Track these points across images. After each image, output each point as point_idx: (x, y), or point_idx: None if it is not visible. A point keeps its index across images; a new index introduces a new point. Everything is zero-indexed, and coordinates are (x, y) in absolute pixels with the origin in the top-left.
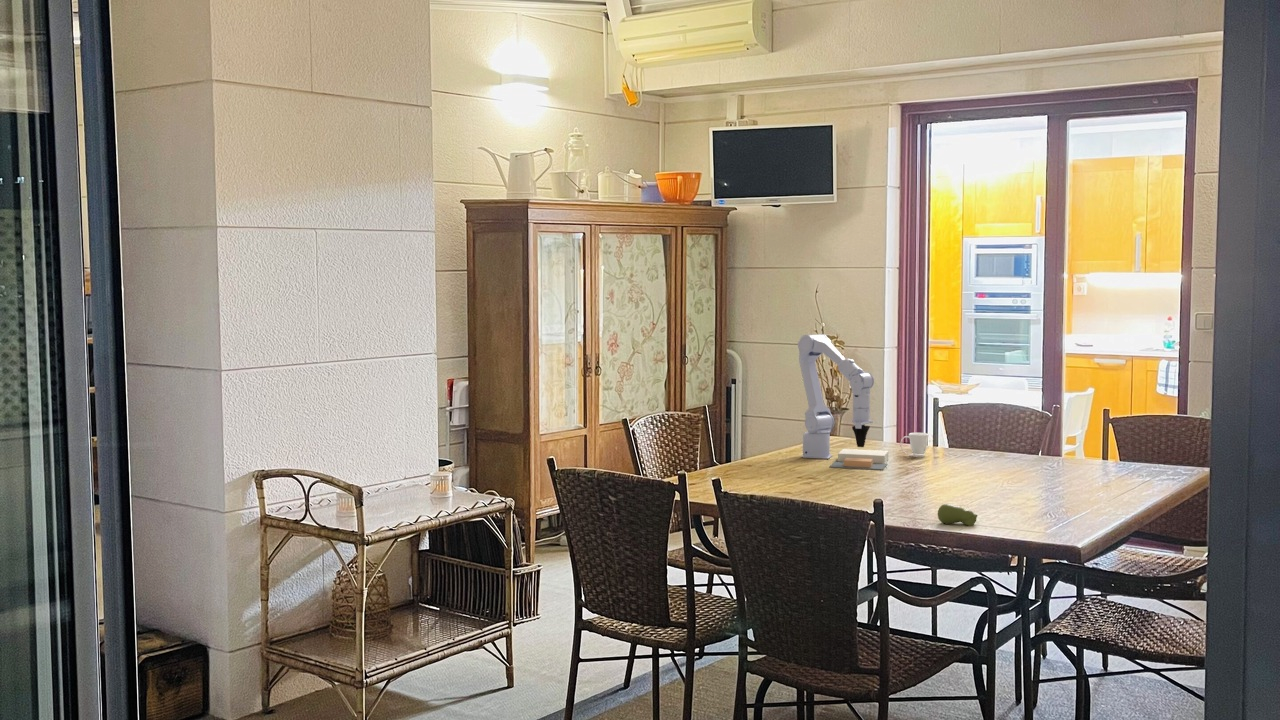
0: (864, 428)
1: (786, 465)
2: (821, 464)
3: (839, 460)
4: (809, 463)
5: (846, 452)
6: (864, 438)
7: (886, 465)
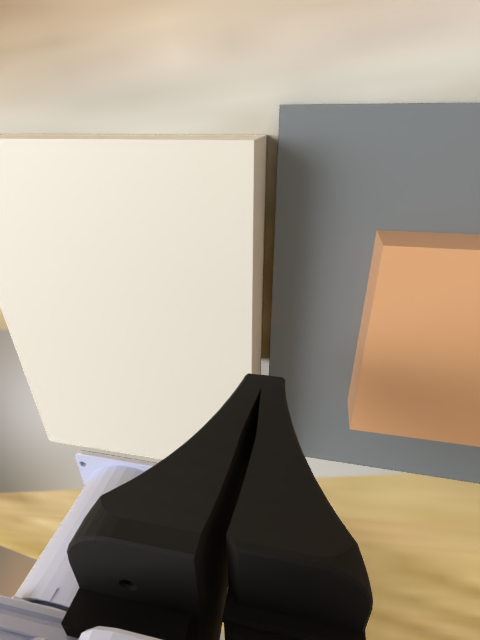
0: (368, 616)
1: (419, 606)
2: (361, 499)
3: None
4: None
5: (184, 431)
6: (298, 442)
7: (342, 104)
